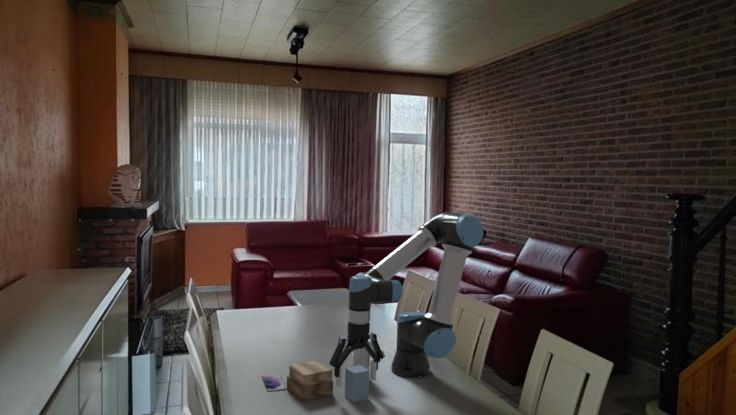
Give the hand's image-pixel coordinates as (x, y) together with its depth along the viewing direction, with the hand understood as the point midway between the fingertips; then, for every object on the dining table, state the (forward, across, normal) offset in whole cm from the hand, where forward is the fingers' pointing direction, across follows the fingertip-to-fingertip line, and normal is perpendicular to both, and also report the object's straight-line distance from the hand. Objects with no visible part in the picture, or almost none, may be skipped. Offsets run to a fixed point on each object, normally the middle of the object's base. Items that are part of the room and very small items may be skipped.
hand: (356, 382), depth 181 cm
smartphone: (+6, +20, -25) cm, 33 cm away
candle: (+5, -10, -14) cm, 18 cm away
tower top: (+1, +12, -12) cm, 17 cm away
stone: (+5, -31, -40) cm, 51 cm away
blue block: (+5, 0, 0) cm, 5 cm away
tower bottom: (+6, +12, -12) cm, 18 cm away
